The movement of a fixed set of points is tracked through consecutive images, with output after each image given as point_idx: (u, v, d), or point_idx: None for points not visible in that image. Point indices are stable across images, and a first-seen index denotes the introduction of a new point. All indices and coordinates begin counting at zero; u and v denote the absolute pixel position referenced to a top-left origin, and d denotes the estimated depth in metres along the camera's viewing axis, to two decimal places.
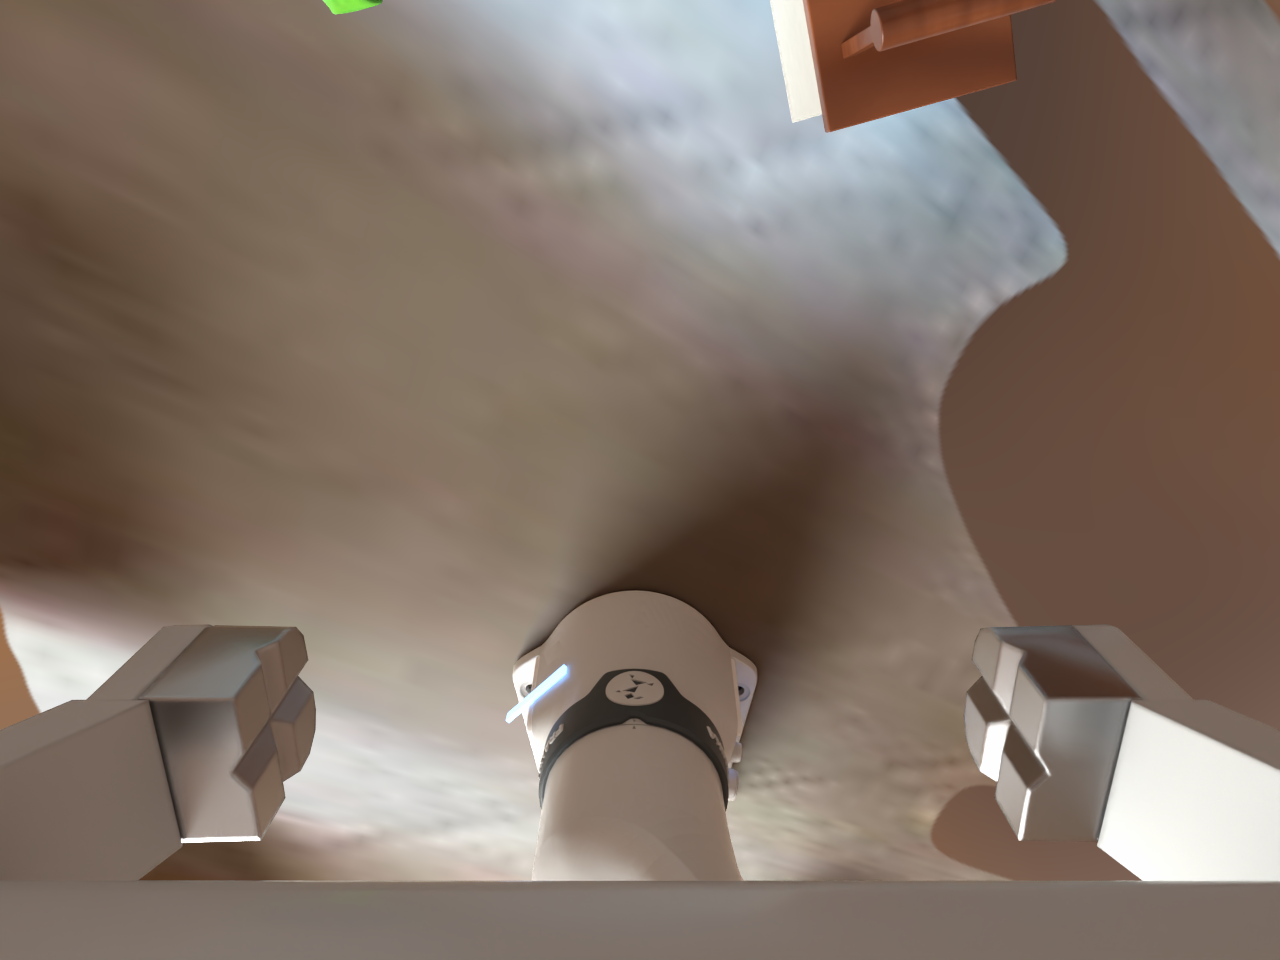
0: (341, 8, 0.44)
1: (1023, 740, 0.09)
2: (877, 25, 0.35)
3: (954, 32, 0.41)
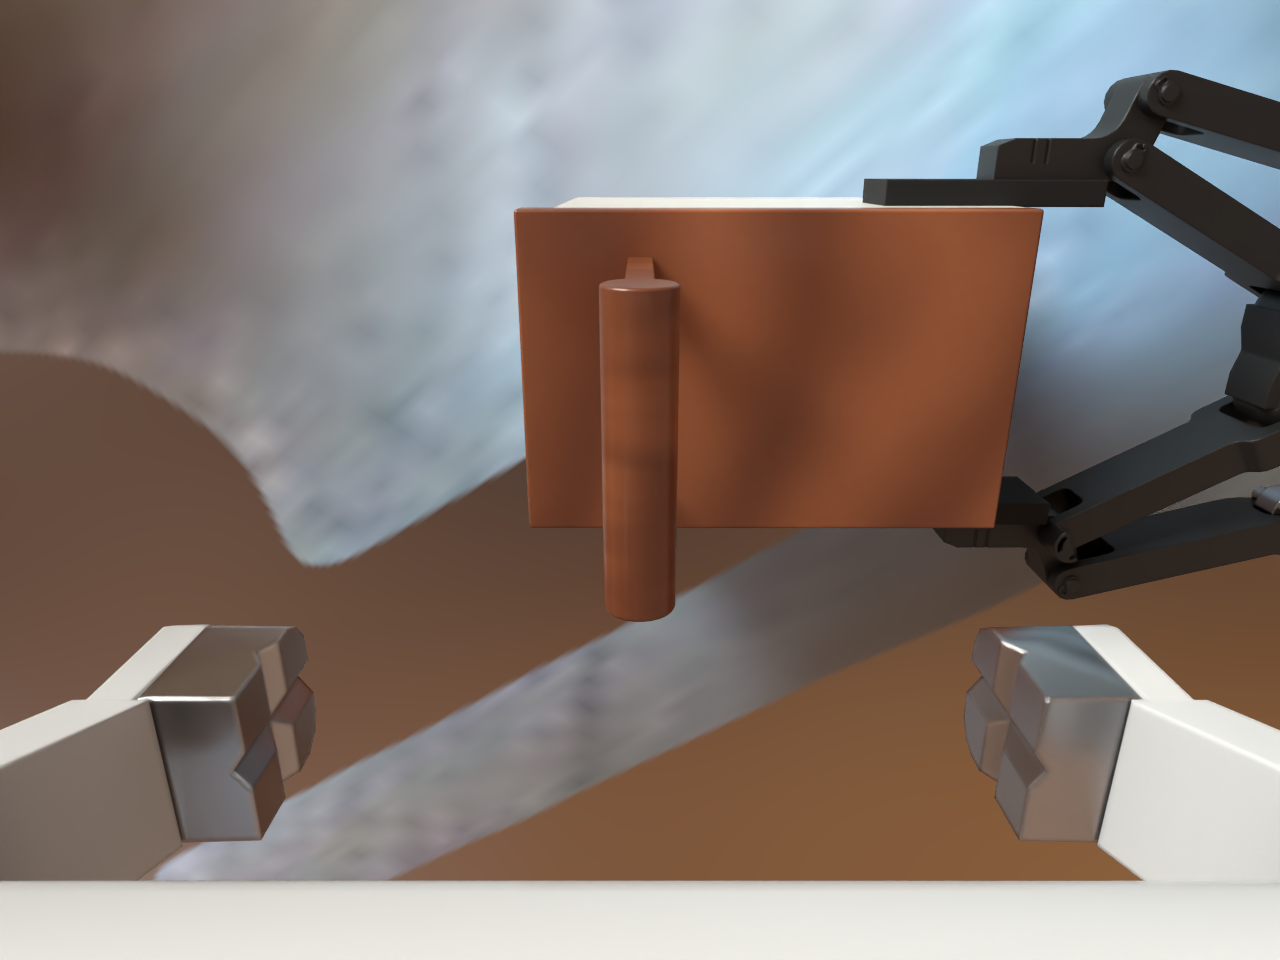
0: None
1: (1023, 740, 0.09)
2: (647, 285, 0.17)
3: None
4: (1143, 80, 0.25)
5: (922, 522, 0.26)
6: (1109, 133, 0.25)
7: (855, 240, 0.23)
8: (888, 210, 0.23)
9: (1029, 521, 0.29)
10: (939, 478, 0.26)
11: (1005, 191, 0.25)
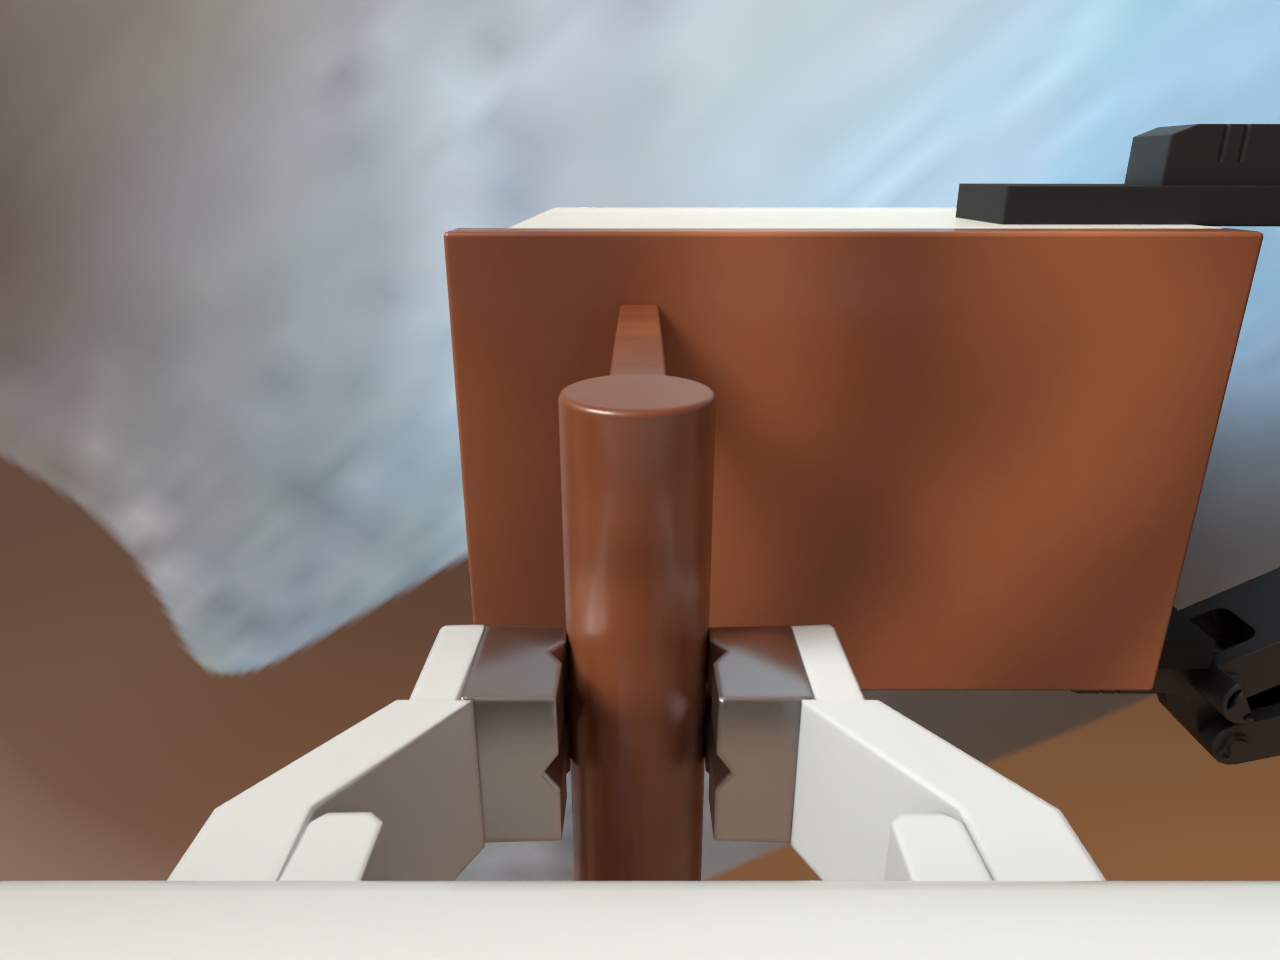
0: None
1: None
2: (652, 398, 0.09)
3: None
4: None
5: (1048, 683, 0.18)
6: None
7: (970, 278, 0.15)
8: (1023, 234, 0.15)
9: (1186, 664, 0.20)
10: (1077, 622, 0.18)
11: (1183, 203, 0.17)
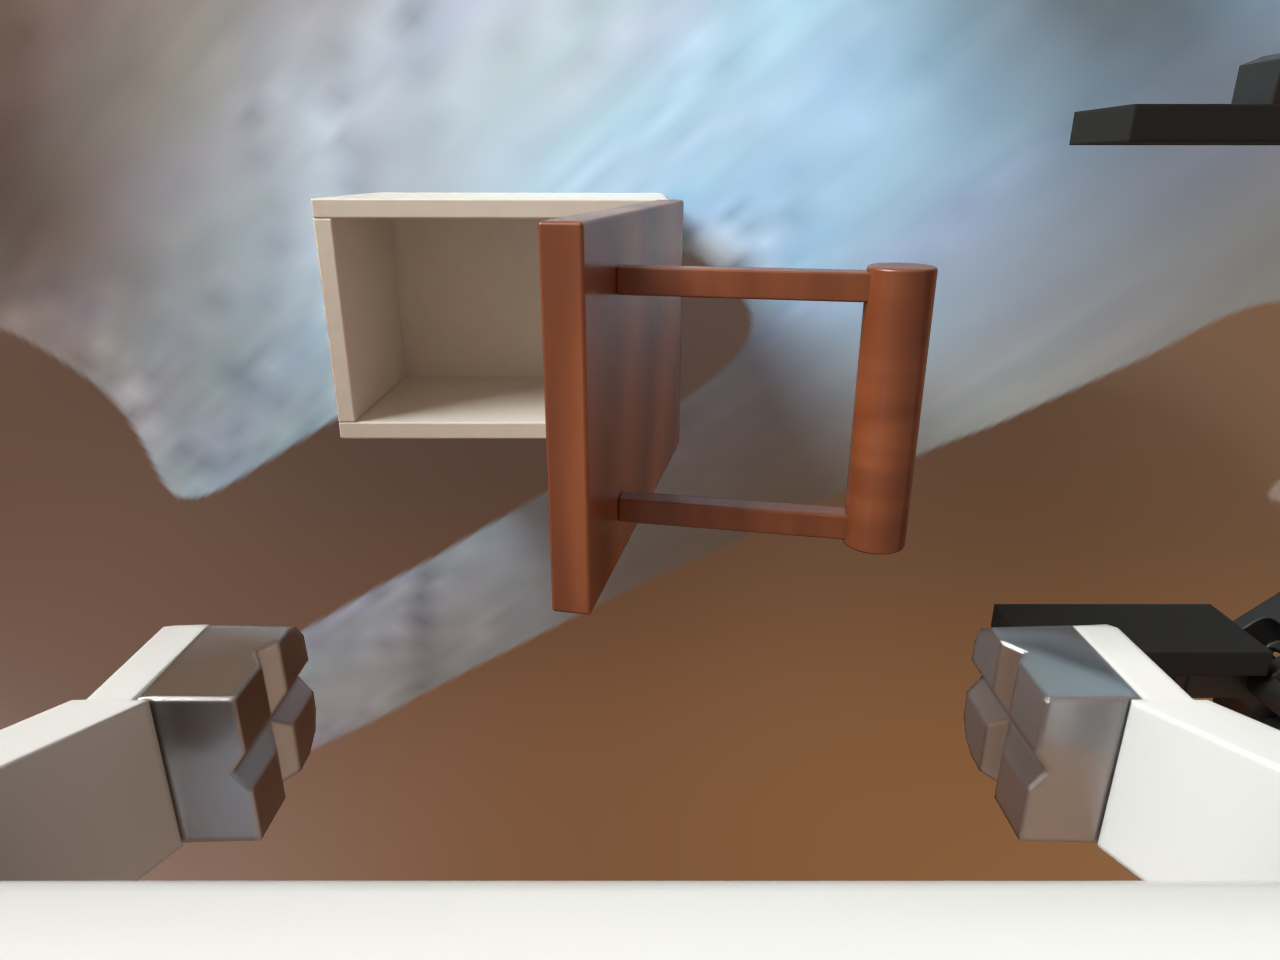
0: None
1: (1024, 739, 0.09)
2: (914, 265, 0.20)
3: (616, 473, 0.23)
4: None
5: (669, 456, 0.33)
6: None
7: (659, 231, 0.27)
8: (664, 205, 0.28)
9: (1246, 672, 0.23)
10: (672, 417, 0.32)
11: None
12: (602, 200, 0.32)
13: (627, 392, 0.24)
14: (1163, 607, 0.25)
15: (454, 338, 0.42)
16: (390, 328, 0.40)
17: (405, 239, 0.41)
